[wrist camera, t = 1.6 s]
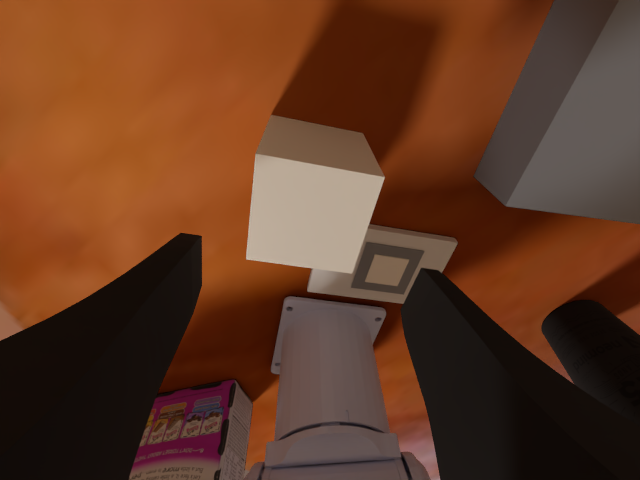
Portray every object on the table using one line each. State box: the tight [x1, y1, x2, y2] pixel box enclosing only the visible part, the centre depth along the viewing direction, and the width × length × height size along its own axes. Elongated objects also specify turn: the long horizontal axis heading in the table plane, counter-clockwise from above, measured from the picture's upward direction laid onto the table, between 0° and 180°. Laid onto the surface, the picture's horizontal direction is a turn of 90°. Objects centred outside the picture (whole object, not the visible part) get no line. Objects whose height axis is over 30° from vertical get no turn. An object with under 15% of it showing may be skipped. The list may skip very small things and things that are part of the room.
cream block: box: [246, 115, 385, 274], centre depth 16 cm, size 5×5×6 cm
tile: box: [307, 224, 458, 304], centre depth 22 cm, size 6×9×1 cm, turn 78°
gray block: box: [473, 0, 640, 224], centre depth 16 cm, size 9×9×4 cm
